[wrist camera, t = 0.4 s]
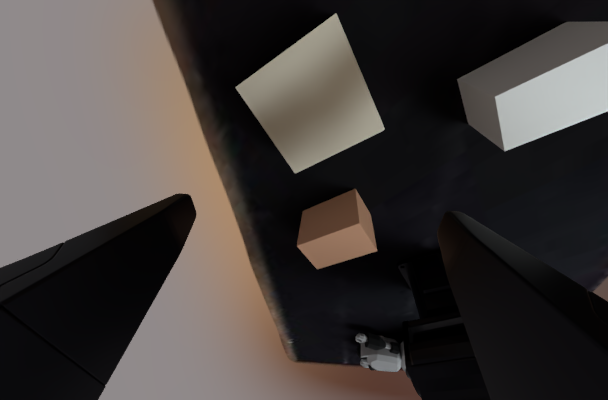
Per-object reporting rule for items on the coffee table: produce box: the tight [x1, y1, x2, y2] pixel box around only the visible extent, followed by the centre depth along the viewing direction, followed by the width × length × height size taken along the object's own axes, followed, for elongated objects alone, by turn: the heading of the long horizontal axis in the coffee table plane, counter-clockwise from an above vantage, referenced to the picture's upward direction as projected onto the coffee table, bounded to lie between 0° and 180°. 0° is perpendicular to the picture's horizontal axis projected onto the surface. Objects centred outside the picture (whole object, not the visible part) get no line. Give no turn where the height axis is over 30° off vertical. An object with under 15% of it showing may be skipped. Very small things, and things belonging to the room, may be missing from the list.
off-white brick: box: [457, 22, 608, 151], centre depth 14 cm, size 4×6×5 cm, turn 122°
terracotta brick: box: [297, 189, 377, 269], centre depth 23 cm, size 4×6×5 cm, turn 122°
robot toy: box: [355, 333, 406, 372], centre depth 38 cm, size 12×4×15 cm
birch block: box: [235, 14, 385, 174], centre depth 17 cm, size 7×7×4 cm
